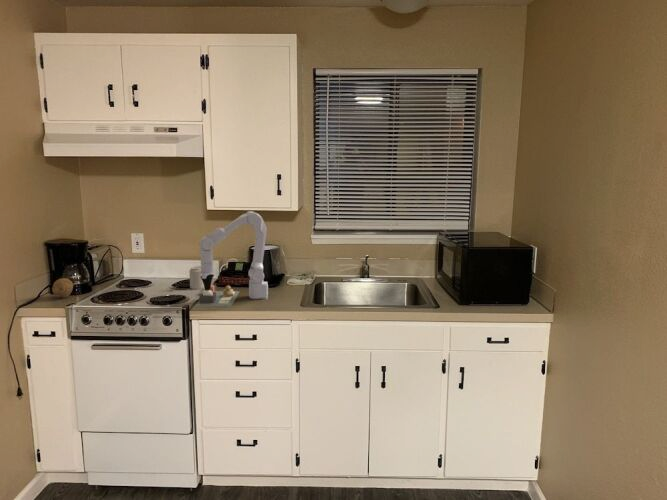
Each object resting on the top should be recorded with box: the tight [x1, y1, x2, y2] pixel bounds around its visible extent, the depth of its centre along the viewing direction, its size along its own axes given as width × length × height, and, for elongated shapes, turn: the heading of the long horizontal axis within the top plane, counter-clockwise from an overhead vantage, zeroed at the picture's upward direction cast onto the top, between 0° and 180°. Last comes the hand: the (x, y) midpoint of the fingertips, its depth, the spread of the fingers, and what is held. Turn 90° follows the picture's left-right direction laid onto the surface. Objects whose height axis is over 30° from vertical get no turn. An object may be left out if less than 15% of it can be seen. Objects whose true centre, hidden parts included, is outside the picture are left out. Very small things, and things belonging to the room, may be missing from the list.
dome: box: [202, 289, 213, 296], centre depth 227 cm, size 5×5×5 cm
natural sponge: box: [51, 277, 74, 299], centre depth 231 cm, size 9×9×10 cm
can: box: [188, 266, 205, 290], centre depth 252 cm, size 8×8×12 cm
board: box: [194, 290, 240, 307], centre depth 233 cm, size 17×26×4 cm, turn 2°
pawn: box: [222, 285, 234, 297], centre depth 237 cm, size 5×5×5 cm
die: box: [210, 284, 215, 292], centre depth 240 cm, size 4×4×4 cm
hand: (207, 289), depth 227 cm, fingers closed, pressing on dome
